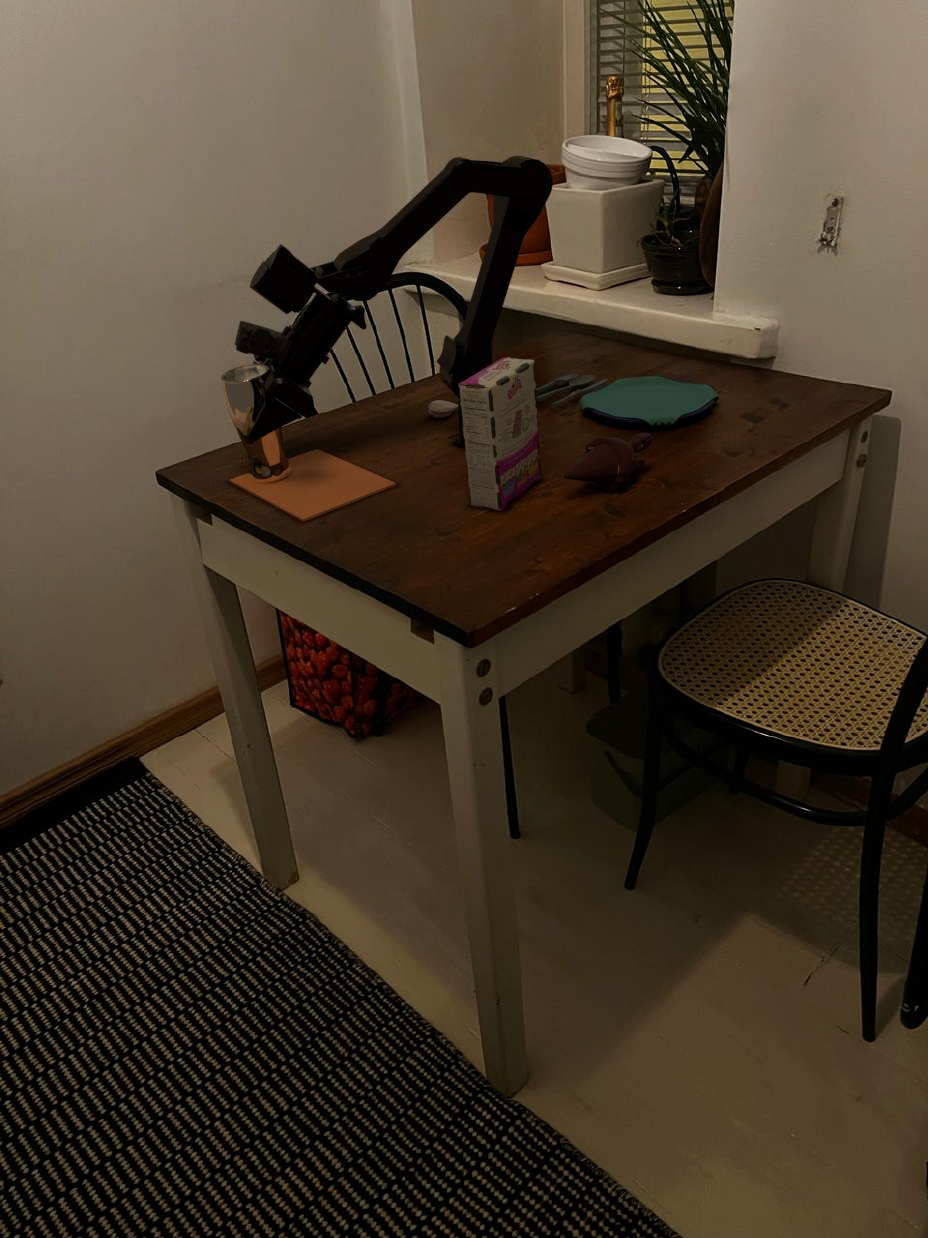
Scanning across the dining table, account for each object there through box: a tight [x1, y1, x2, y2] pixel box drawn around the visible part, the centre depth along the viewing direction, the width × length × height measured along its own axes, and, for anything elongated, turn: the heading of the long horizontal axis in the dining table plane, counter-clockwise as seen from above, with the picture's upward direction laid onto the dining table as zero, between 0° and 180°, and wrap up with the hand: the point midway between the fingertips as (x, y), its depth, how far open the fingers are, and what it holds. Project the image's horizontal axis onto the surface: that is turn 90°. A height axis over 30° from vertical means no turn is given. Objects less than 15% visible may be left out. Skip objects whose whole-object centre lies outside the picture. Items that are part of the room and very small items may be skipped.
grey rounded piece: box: [427, 399, 459, 419], centre depth 153 cm, size 4×5×2 cm
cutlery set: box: [536, 372, 720, 428], centre depth 151 cm, size 20×30×2 cm, turn 46°
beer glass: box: [220, 363, 292, 483], centre depth 132 cm, size 7×7×15 cm
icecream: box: [562, 432, 654, 492], centre depth 123 cm, size 7×7×15 cm
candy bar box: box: [458, 356, 542, 512], centre depth 122 cm, size 11×5×16 cm, turn 148°
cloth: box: [228, 448, 397, 523], centre depth 134 cm, size 20×15×1 cm
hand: (248, 428), depth 131 cm, fingers open, 9 cm apart
